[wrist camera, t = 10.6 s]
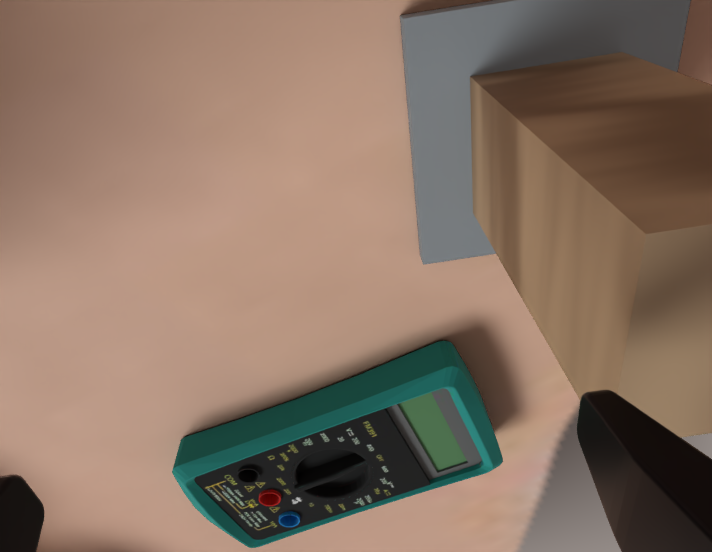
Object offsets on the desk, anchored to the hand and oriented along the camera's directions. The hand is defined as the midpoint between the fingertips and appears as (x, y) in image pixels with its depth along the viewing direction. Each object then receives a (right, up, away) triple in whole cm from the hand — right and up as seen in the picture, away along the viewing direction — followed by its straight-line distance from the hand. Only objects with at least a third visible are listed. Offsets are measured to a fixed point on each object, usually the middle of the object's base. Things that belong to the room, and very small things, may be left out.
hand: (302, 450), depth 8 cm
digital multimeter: (0, -5, +20) cm, 20 cm away
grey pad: (+7, +8, +11) cm, 15 cm away
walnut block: (+7, +8, +10) cm, 15 cm away
